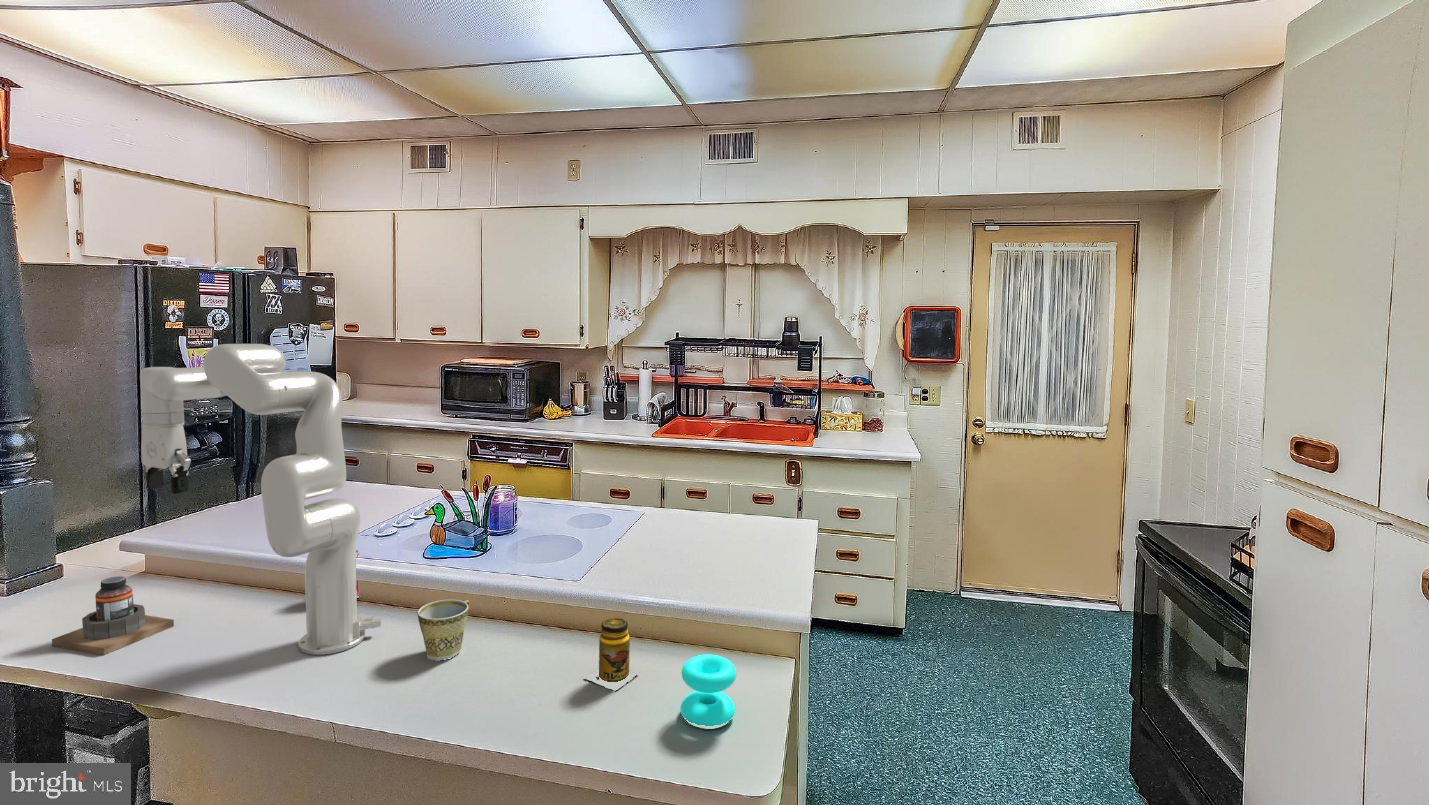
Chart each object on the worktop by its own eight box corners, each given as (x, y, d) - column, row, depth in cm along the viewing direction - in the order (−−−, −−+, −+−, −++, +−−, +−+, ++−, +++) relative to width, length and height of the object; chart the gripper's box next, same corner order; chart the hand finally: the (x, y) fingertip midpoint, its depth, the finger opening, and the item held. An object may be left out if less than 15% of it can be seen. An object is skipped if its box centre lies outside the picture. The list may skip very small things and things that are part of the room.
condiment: (616, 692, 126) (617, 633, 125) (582, 679, 130) (583, 622, 129) (638, 676, 132) (639, 619, 131) (605, 664, 136) (606, 609, 135)
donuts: (670, 664, 118) (707, 646, 125) (668, 716, 119) (705, 695, 126) (711, 685, 111) (747, 665, 118) (709, 740, 112) (745, 716, 119)
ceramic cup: (445, 669, 132) (445, 622, 131) (407, 660, 135) (406, 614, 134) (487, 641, 144) (487, 598, 143) (451, 633, 148) (450, 591, 146)
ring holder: (125, 618, 150) (124, 597, 149) (173, 626, 147) (172, 604, 146) (52, 646, 136) (50, 623, 136) (104, 655, 133) (102, 632, 133)
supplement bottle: (97, 628, 141) (94, 578, 140) (133, 620, 145) (131, 572, 144) (97, 638, 137) (94, 586, 136) (135, 630, 141) (132, 579, 140)
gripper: (123, 418, 153) (127, 488, 155) (167, 424, 147) (171, 498, 149) (160, 414, 160) (164, 482, 162) (204, 420, 154) (207, 491, 156)
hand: (167, 489), depth 155 cm, fingers open, 9 cm apart
